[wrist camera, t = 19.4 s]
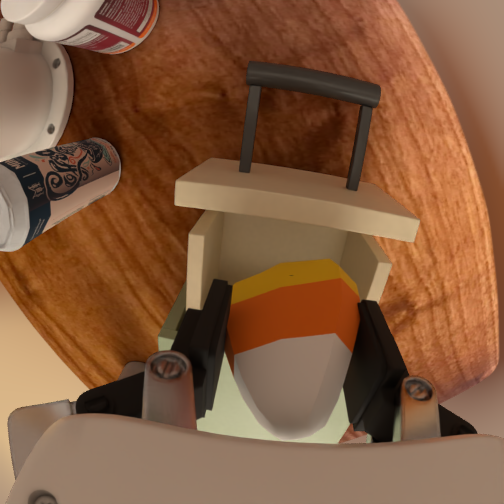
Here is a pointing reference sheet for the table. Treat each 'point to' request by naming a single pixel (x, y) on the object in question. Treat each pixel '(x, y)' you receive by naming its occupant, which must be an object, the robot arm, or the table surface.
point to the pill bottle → (86, 21)
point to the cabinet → (232, 404)
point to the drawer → (290, 201)
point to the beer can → (53, 187)
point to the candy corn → (292, 343)
